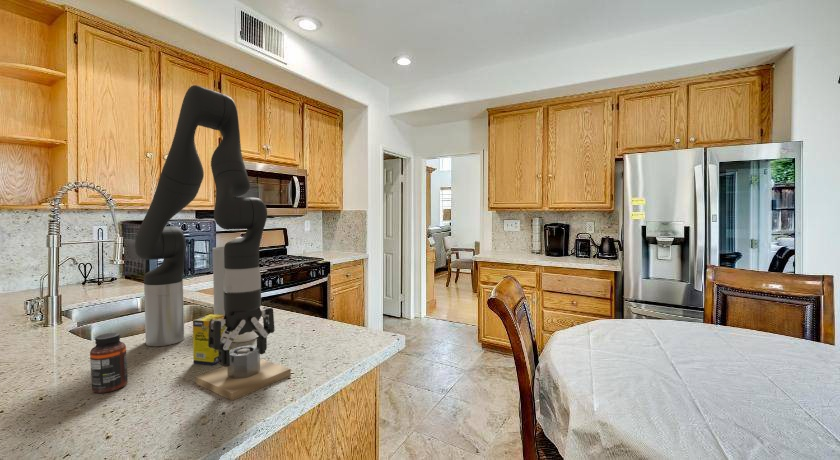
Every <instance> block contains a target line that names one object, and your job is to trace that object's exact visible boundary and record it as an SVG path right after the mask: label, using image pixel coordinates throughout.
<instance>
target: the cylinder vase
mask: <svg viewBox="0 0 840 460" xmlns="http://www.w3.org/2000/svg"><path fill="white" fill-rule="evenodd" d="M212 268H213V270H212V274H213V276H212V277H213V280H212V281H213V314H216V315H225V311H224V289H223V277H224V246H216V247H212Z"/></svg>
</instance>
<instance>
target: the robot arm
mask: <svg viewBox="0 0 840 460" xmlns="http://www.w3.org/2000/svg"><path fill="white" fill-rule="evenodd" d="M238 113H239V112H238V109H237V105H236V102H235V101H234V99H233V98H232V97H231V96H229V95H227V94H224V93H222V92H219V91H215V90H212V89H209V88H207V87H204V86H201V85H197V84H194V85H191V86H189V87H188V89H187V91H186V93H185V94H184V97H183V100H182V103H181V107H180V110H179V115H178V120H177V124H176V127H175V132H174V135H173V139H172V143H171V146H170V148H169V151H168V153H167V157H166V159H165V162H164V164H163V167H162V169H161V172H160V176H159V178H158V182H157V184H156V187H155V188H156V189H155V192H154V195H153V197H152V200H151V203H150V205H149V208H148V210H147V212H146V214H145V216H144V218H143V220H142V222H141V224H140V227H139V229H138V231H137V234H136V236H135V240H134V249H135V250H134V252H135V254H136V256H137V257H138V258H139V259H142V260H144V261H145V260H147V261H151V260H152V261H153V260H162V259H163V260H162V263H161V264H160V265H159V266H157V267H156V268H154V269H152V270H149V271H147V272H146V273H145V274H144V275H143V290H144V291H143V294H144V295H143V296H144V297H143V298H144V319H145V320H144V324H145V325H144V326H145V329H144V330H145V331H144V333H145V345H146V346H147V347H164V346H170V345H174V344H177V343H180V342H182V341H183V340H185V320H184V319H185V315H184V314H185V311H184V310H185V308H184V307H185V306H184V281H183V280H184V277H183V276H184V273H185V258H186V257H185V255H186V238H185V235H184V232H183V230H182V229H181V228H180V227H178V226H176V225H175V226H173V225H172V226H171V225H168V226H167V224H168V223H169V221H171V220H172V218H173V217H175V216H176V215H177V214H178V213H179V212H181V211H182V210H183V209H185V208H186V207H187V206H189V204H190V203H192V202H193V201H194V200H195V198H196V197H197V196H198V193H199V190H200V187H201V186H202V183H203V180H204V174H205V172H204V167H203V164H202V162H201V159H200V158H201V157H200V155H199V153H198V151H197V148H196V144H195V142H196V141H195V136H196V131H197V127H198V126H199V127H203V128H207V129H210V130H214V131H219V132H220V134H221V137H222V139H221V140H220V143H219V144H218V145H217V147H216V148H215V150H214V151H213V153H212V155H211V160H210V169H211V172H212V176H213V180H214V185H215V203H214V209H213V219H214V221H215V223H216V225H218V227H220V228H221V229H223V230H227V231H228V230H246V231H245V233H244V235H243V236H241V237H242V238H240V239H237V240H235V239H234V240H233V239H232V240H229V241H227V242H226V243H225V244H224V245H223V247H224V277H223V289H224V311H225V316H224V318H223V319H219V320H214V319H211V320H210V321H209V338H208V347H210V348H213V349H215V350H218V354H219V362H218V363H219V365H221V367H228V366H230V350H229V349H228V348H229V346H231V344H232V343H233V342H232V341H233V340H235V338H236V337H237V335H241V334H244V333H246V332H252V330H253V331H254V332H255V333H256V334H257V337H256V346H257V347H260V355H265V354H266V351H267V349H268V344H267V343H268V342H267V340H268V339H267V338H268V337H269V335H270V334H272V333H274V332H275V318H274V317H275V316H274V308H272V307H267V306H263V307H262V308H261V306H262V276H261V270H260V269H261V268H260V247H261V242H262V238H263V237H262V236H263V233H264V230H265V225H266V224H267V218H268V208H267V205H266V204H265V202H264V201H263V200H262V199H261V198H258V197H249V196H248V197H243V196H244V195H245V194H247V193H248V192H249V190H250V187H251V185H250V184H251V183H250V182H251V181H250V179H249V176H248V175H249V174H248V171H247V169H246V166H245V162H244V159H243V154H242V146H241V145H242V144H241V134H240V133H241V132H240V124H239V114H238ZM241 196H242V197H241ZM261 317H262V320H263V321H262V324H263V325H262V324H261V323H260V319H261ZM223 325H225V326H226V328H225V330H224V331H223V333H222V337H221V329H223ZM230 332H232V333H231V334H229V333H230Z"/></svg>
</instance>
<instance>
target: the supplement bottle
mask: <svg viewBox="0 0 840 460" xmlns="http://www.w3.org/2000/svg"><path fill="white" fill-rule="evenodd" d="M94 339H95V345H94V347H92V348H91V350H90V351H89V357H90V358H89V361H90V377H91V378H90V379H91V382H90V383H91V391H92V392H93V393H95V394H96V393H97V394H103V393H104V394H105V393H111V392H114V391H116V390H119V389H121V388H123V387H125V386H126V385H127V383H128V380H129V379H128V377H129V375H128V357H127V356H128V355H127V346H126V344H125V342H122V341H120V340H121V335H120V333H118V332H109V333H103V334H100V335H97V336H96V337H95V338H94Z"/></svg>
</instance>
